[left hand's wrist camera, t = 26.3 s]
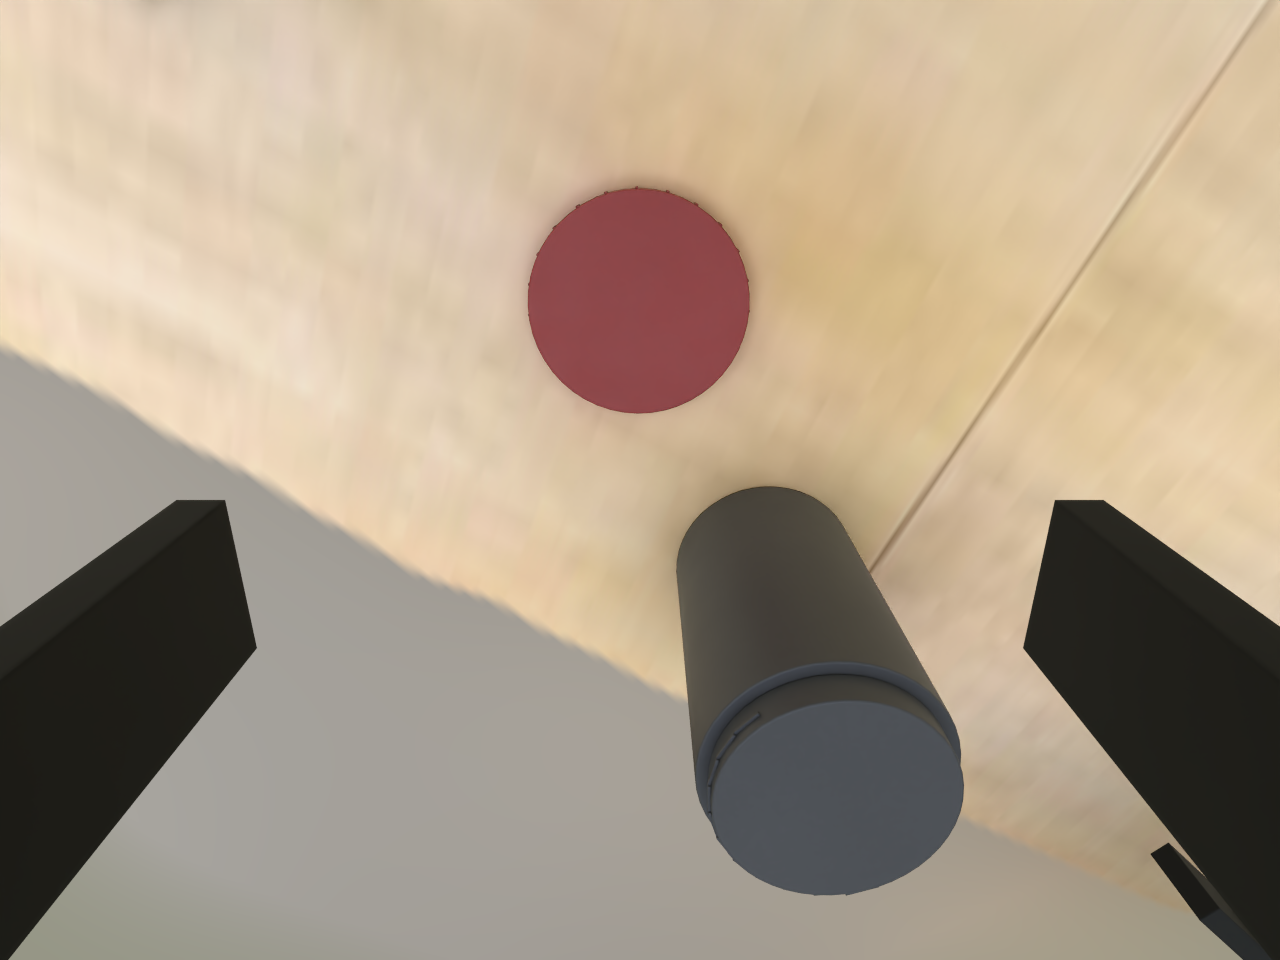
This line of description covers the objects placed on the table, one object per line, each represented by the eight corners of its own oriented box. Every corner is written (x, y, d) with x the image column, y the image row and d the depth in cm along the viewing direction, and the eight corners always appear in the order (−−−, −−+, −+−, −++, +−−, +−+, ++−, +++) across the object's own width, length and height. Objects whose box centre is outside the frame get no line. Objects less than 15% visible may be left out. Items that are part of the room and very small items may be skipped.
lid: (655, 444, 42) (656, 455, 40) (488, 319, 39) (482, 326, 38) (790, 283, 39) (797, 288, 37) (618, 137, 36) (617, 135, 35)
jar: (654, 515, 44) (663, 730, 27) (830, 464, 42) (954, 656, 26) (703, 659, 47) (738, 929, 30) (867, 616, 46) (997, 871, 29)
